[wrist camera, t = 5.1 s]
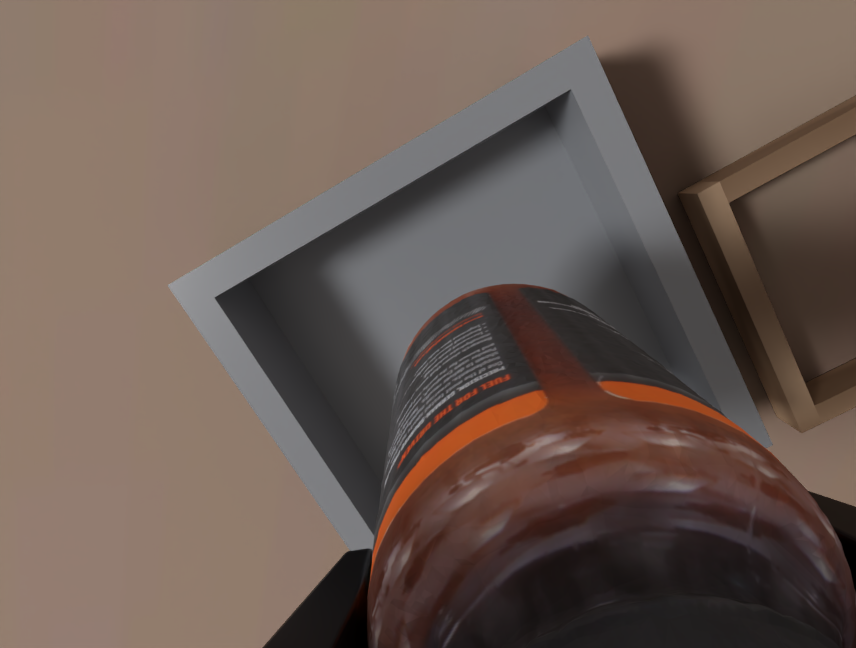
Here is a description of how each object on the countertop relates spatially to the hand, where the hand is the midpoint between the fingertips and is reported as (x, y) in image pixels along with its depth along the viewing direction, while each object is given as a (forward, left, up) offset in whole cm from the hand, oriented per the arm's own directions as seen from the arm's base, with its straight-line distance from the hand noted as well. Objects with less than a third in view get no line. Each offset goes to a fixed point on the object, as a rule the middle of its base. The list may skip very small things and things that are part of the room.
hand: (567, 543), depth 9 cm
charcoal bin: (0, 0, -13) cm, 13 cm away
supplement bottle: (0, 0, -7) cm, 7 cm away
